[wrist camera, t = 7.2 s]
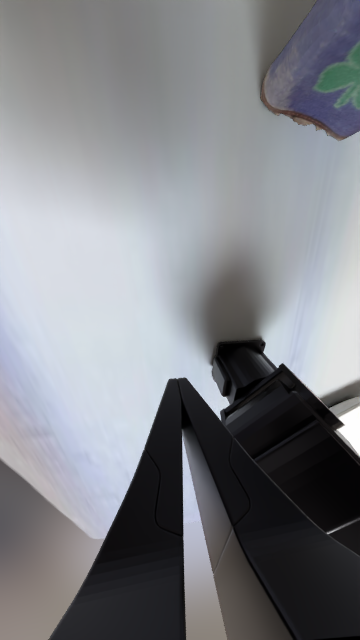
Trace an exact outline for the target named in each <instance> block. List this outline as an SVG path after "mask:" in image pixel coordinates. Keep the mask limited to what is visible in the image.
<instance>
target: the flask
mask: <svg viewBox="0 0 360 640" xmlns="http://www.w3.org/2000/svg"><path fill="white" fill-rule="evenodd" d="M260 98H261V100H262V101H263V103H264V104H265V106H267V108H268V109H269V111H272V112H273V113H274V114H275V115H277V116H279V115H280V114H281V113H282V114H284V115H286V116H288V117H290V118H292V119H293V121H294V122H297V123H298V125H300V124H302V125H303V126H305V125H306V126H307V124H308V125H309V124H313V125H315V126H316V131H317V130H320V129H323V130H325V131H326V133H327V136H328V135H330V136H333V137H334V138H335V139H337V140H338V141H341V140H343V139H345V138H347V137H349V136H351V135H353V134H355V133H356V132H358V131H360V0H317V1H316V3H315V5H314V6H313V8H312V9H311V11H310V12H309V14H308V15H307V17H306V18H305V19H304V21H303V22H302V23H301V25H300V26H299V28H298V29H297V31H296V32H295V33H294V35H293V36H292V38H291V39H290V41H289V42H288V44H287V45H286V46H285V48H284V49H283V50H282V52H281V53H280V54H279V56H278V57H277V58H276V60H275V61H274V62H273V63H272V64H271V66H270V67H269V69H268V71H267V73H266V76H265V78H264V81H263V84H262V91H261V97H260Z"/></svg>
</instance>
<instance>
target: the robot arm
mask: <svg viewBox="0 0 360 640" xmlns="http://www.w3.org/2000/svg"><path fill="white" fill-rule="evenodd" d="M261 343H262V344H261ZM265 344H266V343H265V342H264V341H263V340H250V341H233V342H220V343H219V344H218V345H217V352H216V357H215V358H214V362H213V369H212V373H213V380H214V381H215V382H216V383H217V385H218V388H219V390H220V392H221V395H222V396H223V397H227V399H228V401H229V404H230V405H229V406H228V407H227V408H225V409H223V410H221V411H220V414H221V420H220V419H219V418H218V417H217V415H216V414H215V413H214V412H213V411H212V409H211V408H210V407H209V406H208V404H207V403H206V402H205V401H204V399H203V398H202V397H201V396H200V394H199V393H198V392H197V391H196V390H195V388H194V387H193V386H192V385H191V383H190V382H189V381H188V380H187V378H178V379H176V378H174V379H169V380H168V383H167V385H166V388H165V391H164V394H163V397H162V400H161V402H160V405H159V408H158V411H157V414H156V417H155V419H154V422H153V425H152V428H151V431H150V433H149V436H148V439H147V442H146V445H145V448H144V450H143V453H142V456H141V459H140V461H139V464H138V467H137V469H136V472H135V474H134V477H133V479H132V482H131V484H130V486H129V488H128V491H127V493H126V495H125V497H124V500H123V502H122V504H121V506H120V508H119V510H118V512H117V515H116V517H115V519H114V521H113V523H112V525H111V527H110V529H109V531H108V534H107V536H106V538H105V540H104V542H103V544H102V546H101V548H100V551H99V553H98V555H97V557H96V559H95V561H94V563H93V565H92V567H91V569H90V571H89V573H88V575H87V577H86V579H85V580H84V582H83V584H82V586H81V588H80V590H79V591H78V593H77V595H76V596H75V598H74V600H73V602H72V603H71V605H70V606H69V608H68V609H67V611H66V613H65V614H64V616H63V617H62V619H61V620H60V622H59V624H58V625H57V627H56V628H55V630H54V631H53V633H52V635H51V636H50V638H49V639H48V640H186V622H185V592H184V591H185V590H184V548H183V547H184V545H183V544H184V543H183V468H182V435H183V440H184V444H185V449H186V453H187V458H188V462H189V467H190V472H191V476H192V481H193V485H194V490H195V494H196V499H197V503H198V508H199V512H200V517H201V521H202V525H203V531H204V535H205V540H206V544H207V548H208V553H209V558H210V562H211V567H212V571H213V574H214V575H213V576H214V581H215V585H216V590H217V594H218V599H219V603H220V608H221V612H222V617H223V621H224V626H225V631H226V635H227V640H360V456H359V454H358V453H357V452H356V450H355V449H354V448H353V446H352V445H351V444H350V442H349V441H348V440H347V439H346V438H345V437H344V436H343V435H342V434H341V433H340V432H339V431H338V430H337V429H340V428H341V427H343V426H345V425H344V423H343V422H342V421H341V420H340V419H339V418H338V417H337V416H336V415H335V414H334V413H333V412H332V411H331V410H330V409H329V408H328V407H327V406H326V405H325V404H324V403H323V402H322V401H321V400H320V399H319V398H318V397H317V396H316V395H315V394H314V393H313V392H312V391H311V390H310V389H309V388H308V387H307V386H306V385H305V384H304V383H303V382H302V381H301V380H300V379H299V378H298V377H297V376H296V375H295V374H294V373H293V372H292V371H290V370H289V369H288V368H287V367H286V366H285V365H284V364H283V363H282V364H281V365H280V366H279V368H277V367H276V366H275V365H274V364H273V363H272V362H271V361H270V360H269V359H268V358H267V357H266V355H265V354H264V353H263V351H264V348H265ZM221 346H222V347H221ZM221 421H222V422H221Z"/></svg>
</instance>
